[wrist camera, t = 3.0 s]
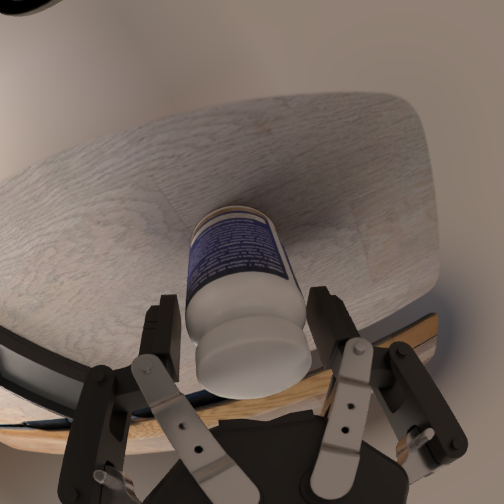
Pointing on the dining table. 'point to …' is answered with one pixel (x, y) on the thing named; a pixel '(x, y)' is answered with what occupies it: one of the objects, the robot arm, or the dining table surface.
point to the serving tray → (40, 375)
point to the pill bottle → (244, 307)
